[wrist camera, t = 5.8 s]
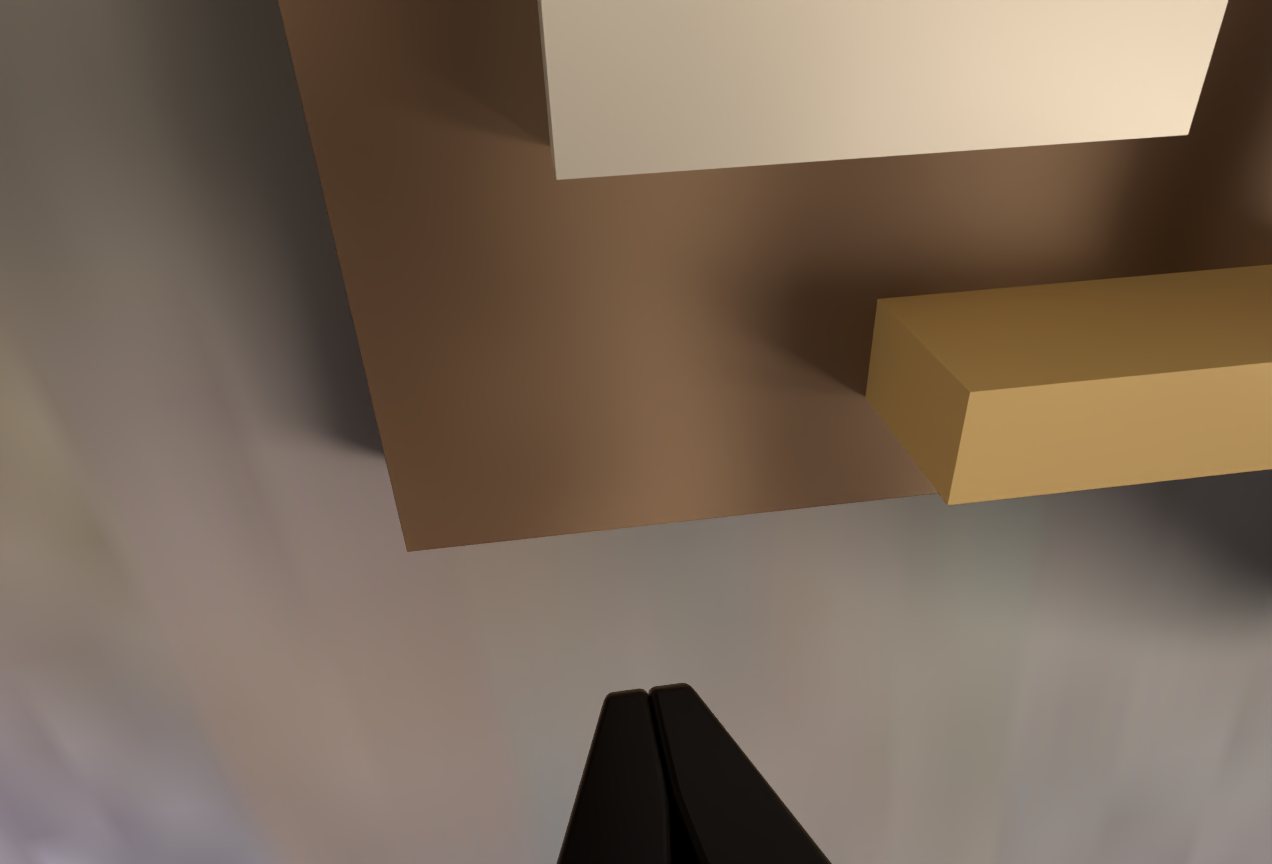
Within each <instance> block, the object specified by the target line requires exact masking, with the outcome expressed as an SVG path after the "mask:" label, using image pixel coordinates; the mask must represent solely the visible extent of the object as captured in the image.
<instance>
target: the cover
mask: <svg viewBox="0 0 1272 864" xmlns="http://www.w3.org/2000/svg"><path fill="white" fill-rule="evenodd" d="M537 2H538V13H539V24H540V36H541V47H542V58H543V70H544V81H545V92H546V103H547V115H548V126H549V137H550V147H551V153H552V158H553V164H554V169H555V174H556V180H563V179H577V178H591V177H605V176H619V175H633V174H647V173H661V172H675V171H689V170H703V169H717V168H731V167H745V166H759V165H773V164H787V163H801V162H815V161H829V160H843V159H857V158H871V157H885V156H899V155H913V154H927V153H941V152H955V151H969V150H983V149H997V148H1011V147H1025V146H1039V145H1053V144H1067V143H1081V142H1095V141H1109V140H1123V139H1137V138H1151V137H1165V136H1179V135H1188V133H1189V130H1190V126H1191V123H1192V120H1193V116H1194V113H1195V110H1196V106H1197V103H1198V100H1199V96H1200V93H1201V90H1202V86H1203V83H1204V80H1205V76H1206V73H1207V70H1208V66H1209V63H1210V60H1211V56H1212V53H1213V50H1214V46H1215V43H1216V40H1217V36H1218V33H1219V30H1220V26H1221V23H1222V20H1223V16H1224V13H1225V10H1226V6H1227V3H1228V0H537Z"/></svg>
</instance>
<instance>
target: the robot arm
mask: <svg viewBox="0 0 1272 864" xmlns="http://www.w3.org/2000/svg"><path fill="white" fill-rule="evenodd" d="M557 864H831V862H830V861H829V860H828V858H827V857H826V856H825V855H824V853H823V852H822V851H821V850H820V848H819V847H818V846H817V845H816V843H815V842H814V841H813V839H812V838H811V837H810V836H809V834H808V833H807V832H806V831H805V829H804V828H803V827H802V826H801V824H800V823H799V822H798V820H797V819H796V818H795V817H794V815H793V814H792V813H791V812H790V810H789V809H788V808H787V807H786V805H785V804H784V803H783V801H782V800H781V799H780V798H779V796H778V795H777V794H776V793H775V791H774V790H773V789H772V788H771V786H770V785H769V784H768V782H767V781H766V780H765V779H764V777H763V776H762V775H761V774H760V772H759V771H758V770H757V769H756V767H755V766H754V765H753V763H752V762H751V761H750V760H749V758H748V757H747V756H746V755H745V753H744V752H743V751H742V750H741V748H740V747H739V746H738V744H737V743H736V742H735V741H734V739H733V738H732V737H731V736H730V734H729V733H728V732H727V731H726V729H725V728H724V727H723V726H722V724H721V723H720V722H719V720H718V719H717V718H716V717H715V715H714V714H713V713H712V712H711V710H710V709H709V708H708V707H707V705H706V704H705V703H704V701H703V700H702V699H701V698H700V696H699V695H698V694H697V693H696V691H695V690H694V689H693V688H692V687H691V686H690V685H688V684H686V683H678V684H670V685H663V686H655V687H653V688H651V689H650V690H649V693H648V694H647V692H646V691H645V690H643V689H633V690H625V691H618V692H612V693H609V694H608V695H607V696H606V698H605V699H604V702H603V705H602V709H601V712H600V716H599V719H598V723H597V726H596V730H595V733H594V737H593V740H592V743H591V747H590V750H589V754H588V757H587V761H586V764H585V768H584V771H583V775H582V778H581V781H580V785H579V788H578V792H577V795H576V799H575V802H574V806H573V809H572V813H571V816H570V819H569V823H568V826H567V830H566V833H565V837H564V840H563V844H562V847H561V851H560V854H559V857H558V861H557Z"/></svg>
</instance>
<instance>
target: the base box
mask: <svg viewBox="0 0 1272 864" xmlns="http://www.w3.org/2000/svg"><path fill="white" fill-rule="evenodd" d="M278 4H279V8H280V12H281V16H282V21H283V25H284V29H285V33H286V38H287V42H288V46H289V50H290V55H291V59H292V63H293V68H294V72H295V76H296V80H297V85H298V89H299V93H300V97H301V102H302V106H303V110H304V114H305V119H306V123H307V127H308V131H309V136H310V140H311V144H312V148H313V153H314V157H315V161H316V165H317V170H318V174H319V178H320V183H321V187H322V191H323V195H324V200H325V204H326V208H327V212H328V217H329V221H330V225H331V229H332V234H333V238H334V242H335V246H336V251H337V255H338V259H339V263H340V268H341V272H342V276H343V281H344V285H345V289H346V293H347V298H348V302H349V306H350V310H351V315H352V319H353V323H354V327H355V332H356V336H357V340H358V344H359V349H360V353H361V357H362V361H363V366H364V370H365V374H366V378H367V383H368V387H369V391H370V396H371V400H372V404H373V408H374V413H375V417H376V421H377V425H378V430H379V434H380V438H381V442H382V447H383V451H384V455H385V459H386V464H387V468H388V472H389V476H390V481H391V485H392V489H393V493H394V498H395V502H396V506H397V511H398V515H399V519H400V523H401V528H402V532H403V536H404V540H405V545H406V549H407V552H410V551H419V550H428V549H437V548H446V547H455V546H464V545H473V544H482V543H492V542H501V541H510V540H519V539H528V538H537V537H546V536H555V535H564V534H573V533H582V532H591V531H600V530H609V529H618V528H627V527H636V526H645V525H654V524H664V523H673V522H682V521H691V520H700V519H709V518H718V517H727V516H736V515H745V514H754V513H763V512H772V511H781V510H790V509H799V508H808V507H817V506H826V505H836V504H845V503H854V502H863V501H872V500H881V499H890V498H899V497H908V496H917V495H926V494H935V493H938V492H937V491H936V489H935V488H934V487H933V485H932V484H931V483H930V481H929V480H928V479H927V477H926V476H925V475H924V474H923V472H922V471H921V470H920V468H919V467H918V466H917V464H916V463H915V462H914V460H913V459H912V458H911V456H910V455H909V454H908V452H907V451H906V450H905V448H904V447H903V446H902V445H901V443H900V442H899V441H898V439H897V438H896V437H895V435H894V434H893V433H892V431H891V430H890V429H889V427H888V426H887V425H886V423H885V422H884V421H883V420H882V418H881V417H880V416H879V414H878V413H877V412H876V410H875V409H874V408H873V406H872V405H871V404H870V402H869V401H868V400H867V398H866V397H865V396H866V388H867V380H868V372H869V364H870V356H871V348H872V340H873V332H874V324H875V316H876V307H877V299H883V298H895V297H906V296H917V295H929V294H940V293H952V292H963V291H974V290H986V289H997V288H1009V287H1020V286H1032V285H1043V284H1054V283H1066V282H1077V281H1089V280H1100V279H1111V278H1123V277H1134V276H1146V275H1157V274H1168V273H1180V272H1191V271H1203V270H1214V269H1226V268H1237V267H1248V266H1260V265H1271V264H1272V0H1228V3H1227V6H1226V10H1225V13H1224V16H1223V20H1222V23H1221V26H1220V30H1219V33H1218V36H1217V40H1216V43H1215V46H1214V50H1213V53H1212V56H1211V60H1210V63H1209V66H1208V70H1207V73H1206V76H1205V80H1204V83H1203V86H1202V90H1201V93H1200V96H1199V100H1198V103H1197V106H1196V110H1195V113H1194V116H1193V120H1192V123H1191V126H1190V130H1189V133H1188V135H1179V136H1165V137H1151V138H1137V139H1123V140H1109V141H1095V142H1081V143H1067V144H1053V145H1039V146H1025V147H1011V148H997V149H983V150H969V151H955V152H941V153H927V154H913V155H899V156H885V157H871V158H857V159H843V160H829V161H815V162H801V163H787V164H773V165H759V166H745V167H731V168H717V169H703V170H689V171H675V172H661V173H647V174H633V175H619V176H605V177H591V178H577V179H563V180H556V174H555V169H554V164H553V158H552V153H551V147H550V137H549V126H548V115H547V103H546V92H545V81H544V70H543V58H542V47H541V36H540V24H539V13H538V2H537V0H278Z"/></svg>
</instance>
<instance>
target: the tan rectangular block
mask: <svg viewBox="0 0 1272 864" xmlns="http://www.w3.org/2000/svg"><path fill="white" fill-rule="evenodd" d="M865 397H866V398H867V400H868V401H869V402H870V404H871V405H872V406H873V408H874V409H875V410H876V412H877V413H878V414H879V416H880V417H881V418H882V420H883V421H884V422H885V423H886V425H887V426H888V427H889V429H890V430H891V431H892V433H893V434H894V435H895V437H896V438H897V439H898V441H899V442H900V443H901V445H902V446H903V447H904V448H905V450H906V451H907V452H908V454H909V455H910V456H911V458H912V459H913V460H914V462H915V463H916V464H917V466H918V467H919V468H920V470H921V471H922V472H923V474H924V475H925V476H926V477H927V479H928V480H929V481H930V483H931V484H932V485H933V487H934V488H935V489H936V491H937V492H938V493H939V495H940V496H941V497H942V499H943V500H944V501H945V502H946V504H947V505H955V504H964V503H973V502H982V501H991V500H999V499H1008V498H1017V497H1026V496H1035V495H1044V494H1053V493H1062V492H1071V491H1080V490H1089V489H1098V488H1107V487H1116V486H1124V485H1133V484H1142V483H1151V482H1160V481H1169V480H1178V479H1187V478H1196V477H1205V476H1214V475H1223V474H1232V473H1241V472H1249V471H1258V470H1267V469H1272V264H1271V265H1260V266H1248V267H1237V268H1226V269H1214V270H1203V271H1191V272H1180V273H1168V274H1157V275H1146V276H1134V277H1123V278H1111V279H1100V280H1089V281H1077V282H1066V283H1054V284H1043V285H1032V286H1020V287H1009V288H997V289H986V290H974V291H963V292H952V293H940V294H929V295H917V296H906V297H895V298H883V299H877V307H876V316H875V324H874V332H873V340H872V348H871V356H870V364H869V372H868V380H867V388H866V396H865Z"/></svg>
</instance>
